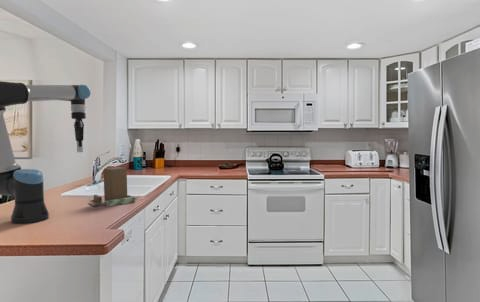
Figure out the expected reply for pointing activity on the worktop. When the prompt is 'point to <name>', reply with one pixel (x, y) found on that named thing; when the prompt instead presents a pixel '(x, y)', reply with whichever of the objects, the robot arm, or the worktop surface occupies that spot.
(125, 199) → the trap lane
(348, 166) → the worktop surface
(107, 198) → the block
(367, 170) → the worktop surface
